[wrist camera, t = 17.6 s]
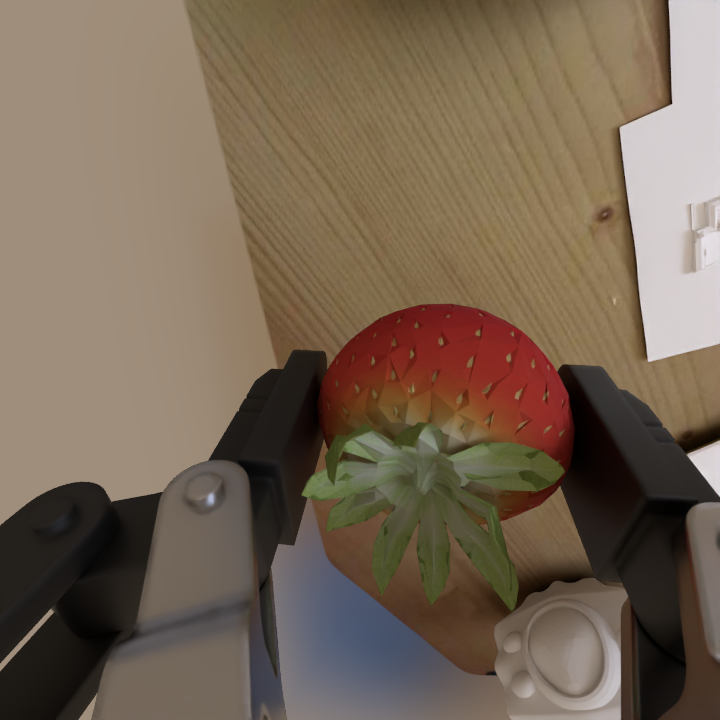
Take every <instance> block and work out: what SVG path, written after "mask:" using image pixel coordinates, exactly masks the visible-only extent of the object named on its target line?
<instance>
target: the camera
mask: <svg viewBox="0 0 720 720" xmlns="http://www.w3.org/2000/svg"><path fill="white" fill-rule="evenodd" d="M627 598H628V595H627V593H626V590H625V588H623V587H614V586H606V585H603V584H602V583H601V582H600V581H598V580H596V579H595V578H584V579H581V580H579V581H578V582H575V583H565V582H562V581H555V582H553V583H552V584H551V585H550V586H549V588H547V589H546V590H545V591H542V592H534V593H532V594H530V595H528V596H527V598H526V599H525V601H524V602H523V604H522V605H521V606H520V607H519V608H518V609H516V610H515V611H514V612H512V613H511V614H509V615H508V616H507V617H505V618H504V619H503V620H501V621H500V622H499V623H498V624H497V625H496V626H495V630H494V634H495V640H496V643H497V647H498V655H497V658H496V661H495V670H496V673H497V675H498V677H499V679H500V680H501V682H502V684H503V685H504V688H505V700H506V709H507V713H508V716H509V717H510V718H511V720H621V608H622V606H623V603H624V602H625V601H626V599H627Z"/></svg>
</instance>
